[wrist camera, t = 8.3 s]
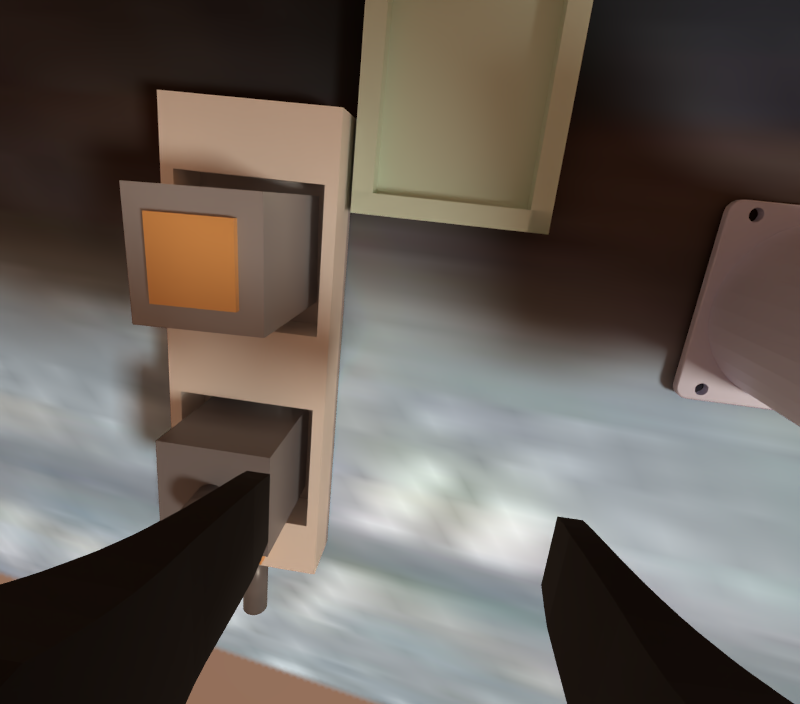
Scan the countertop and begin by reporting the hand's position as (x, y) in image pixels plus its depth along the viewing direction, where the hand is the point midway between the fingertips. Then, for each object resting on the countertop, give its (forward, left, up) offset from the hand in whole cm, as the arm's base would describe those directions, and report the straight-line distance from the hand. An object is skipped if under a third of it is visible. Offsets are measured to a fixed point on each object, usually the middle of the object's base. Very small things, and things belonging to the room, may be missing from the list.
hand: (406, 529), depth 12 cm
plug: (+7, -5, -10) cm, 14 cm away
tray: (0, -12, -10) cm, 16 cm away
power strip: (+8, +1, -10) cm, 13 cm away
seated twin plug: (+8, +4, -10) cm, 13 cm away
